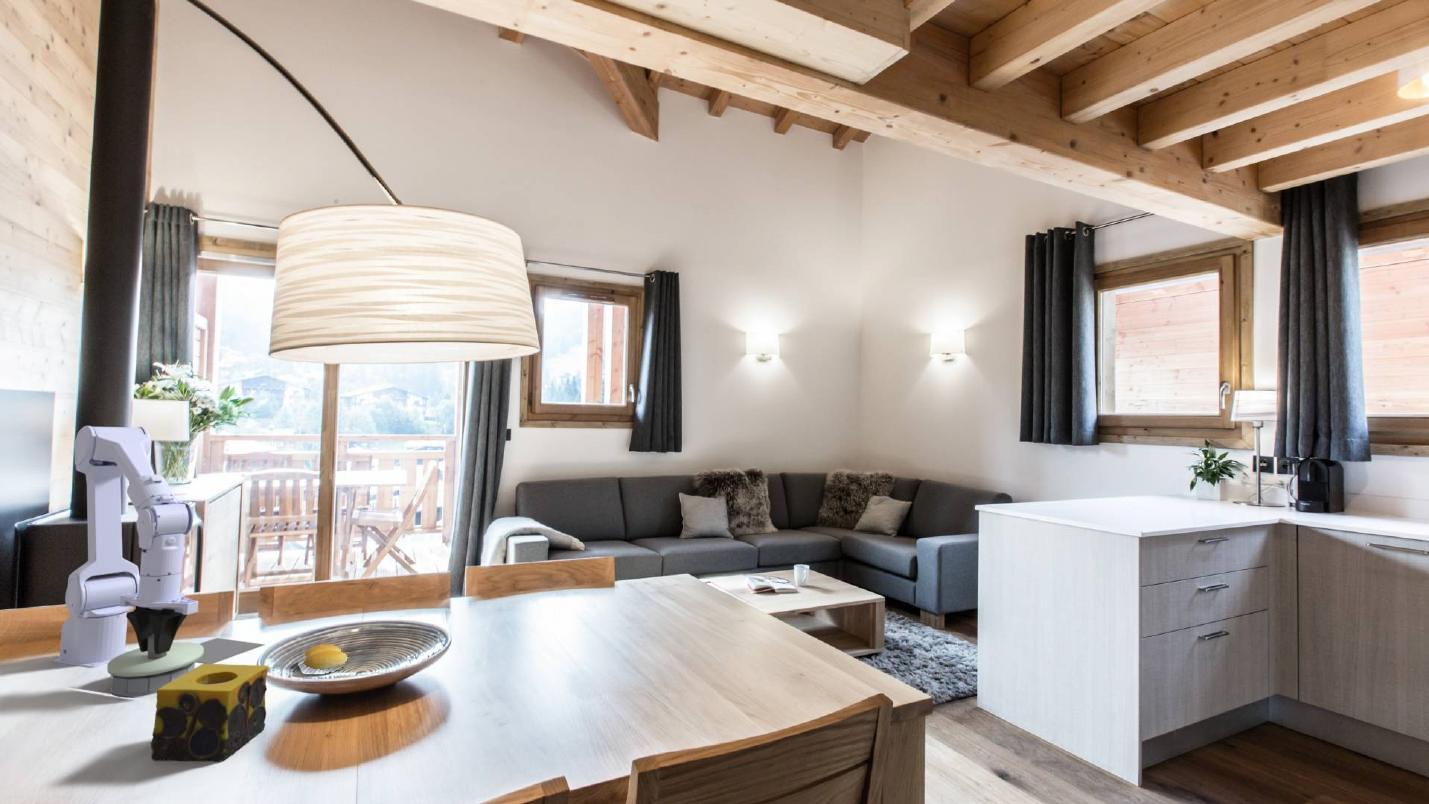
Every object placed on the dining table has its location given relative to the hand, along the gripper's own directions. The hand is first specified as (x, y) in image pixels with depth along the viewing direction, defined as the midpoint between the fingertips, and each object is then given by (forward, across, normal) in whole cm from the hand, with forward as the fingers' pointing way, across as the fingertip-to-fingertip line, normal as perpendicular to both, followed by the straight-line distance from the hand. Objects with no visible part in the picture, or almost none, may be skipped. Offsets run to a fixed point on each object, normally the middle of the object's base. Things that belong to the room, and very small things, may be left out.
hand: (155, 651), depth 118 cm
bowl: (+6, 0, 0) cm, 6 cm away
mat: (+6, +5, -16) cm, 18 cm away
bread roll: (+6, -20, -16) cm, 26 cm away
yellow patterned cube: (+6, -28, +14) cm, 32 cm away
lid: (+2, 0, 0) cm, 2 cm away
